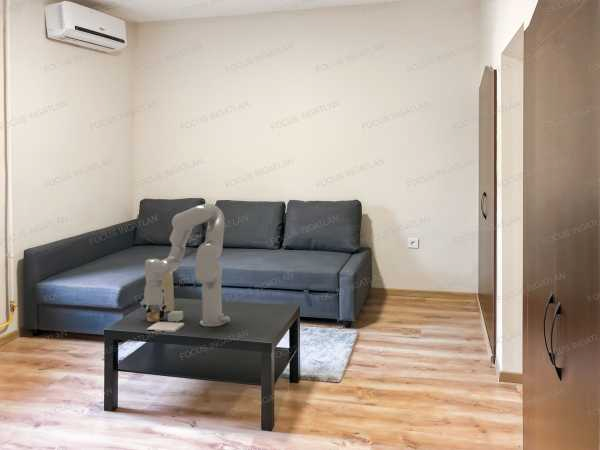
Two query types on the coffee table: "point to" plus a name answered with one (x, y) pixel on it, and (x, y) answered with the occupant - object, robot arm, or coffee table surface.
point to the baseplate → (166, 326)
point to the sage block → (175, 316)
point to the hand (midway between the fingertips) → (155, 317)
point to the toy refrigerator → (168, 291)
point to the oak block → (154, 316)
